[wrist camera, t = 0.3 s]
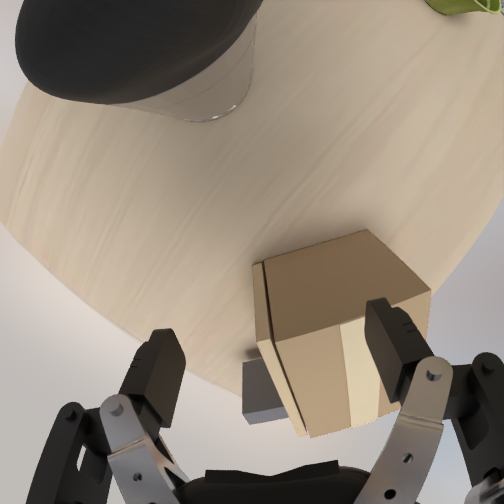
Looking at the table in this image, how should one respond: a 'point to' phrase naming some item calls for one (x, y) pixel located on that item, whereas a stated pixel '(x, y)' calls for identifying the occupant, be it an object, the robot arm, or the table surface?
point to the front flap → (267, 369)
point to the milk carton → (502, 6)
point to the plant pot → (465, 6)
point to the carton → (338, 325)
